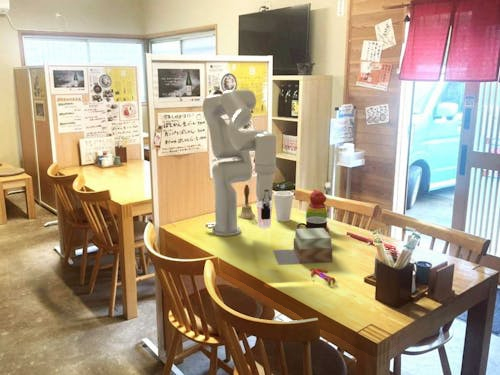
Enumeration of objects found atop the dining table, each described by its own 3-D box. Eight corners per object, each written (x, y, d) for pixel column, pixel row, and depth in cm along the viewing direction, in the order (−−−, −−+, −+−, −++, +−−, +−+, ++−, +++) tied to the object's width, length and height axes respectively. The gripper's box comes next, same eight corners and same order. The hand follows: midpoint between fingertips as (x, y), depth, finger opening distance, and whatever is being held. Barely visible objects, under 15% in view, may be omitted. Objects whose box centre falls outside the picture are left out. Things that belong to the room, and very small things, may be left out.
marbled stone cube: (299, 262, 164) (300, 239, 162) (293, 250, 176) (294, 228, 174) (331, 261, 165) (332, 238, 163) (323, 249, 177) (324, 227, 175)
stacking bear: (329, 232, 199) (331, 193, 195) (306, 232, 200) (307, 193, 195) (326, 225, 210) (327, 187, 206) (304, 224, 210) (305, 187, 206)
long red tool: (391, 255, 177) (398, 249, 179) (390, 250, 176) (397, 244, 178) (343, 238, 195) (350, 233, 197) (342, 234, 194) (349, 229, 197)
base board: (278, 267, 163) (278, 264, 163) (272, 253, 176) (272, 250, 176) (332, 265, 165) (332, 262, 164) (322, 251, 178) (323, 248, 178)
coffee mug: (328, 240, 190) (328, 217, 187) (324, 247, 182) (325, 224, 179) (300, 237, 193) (301, 215, 191) (296, 244, 186) (296, 221, 183)
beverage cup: (262, 230, 163) (263, 193, 159) (252, 225, 167) (253, 189, 164) (275, 227, 166) (276, 190, 162) (265, 222, 171) (266, 186, 167)
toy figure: (318, 270, 161) (318, 263, 161) (341, 283, 151) (341, 275, 151) (300, 275, 157) (300, 268, 157) (322, 288, 147) (322, 281, 147)
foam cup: (293, 222, 213) (294, 196, 210) (273, 222, 213) (274, 196, 210) (291, 216, 223) (292, 191, 219) (273, 216, 223) (273, 191, 220)
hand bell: (236, 214, 226) (236, 183, 222) (252, 213, 228) (252, 182, 224) (240, 219, 218) (240, 187, 215) (257, 218, 220) (257, 186, 217)
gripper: (252, 163, 169) (252, 209, 174) (257, 173, 152) (256, 224, 157) (272, 163, 170) (271, 208, 174) (279, 173, 153) (278, 223, 158)
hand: (264, 215), depth 166 cm, fingers closed on beverage cup, 6 cm apart
